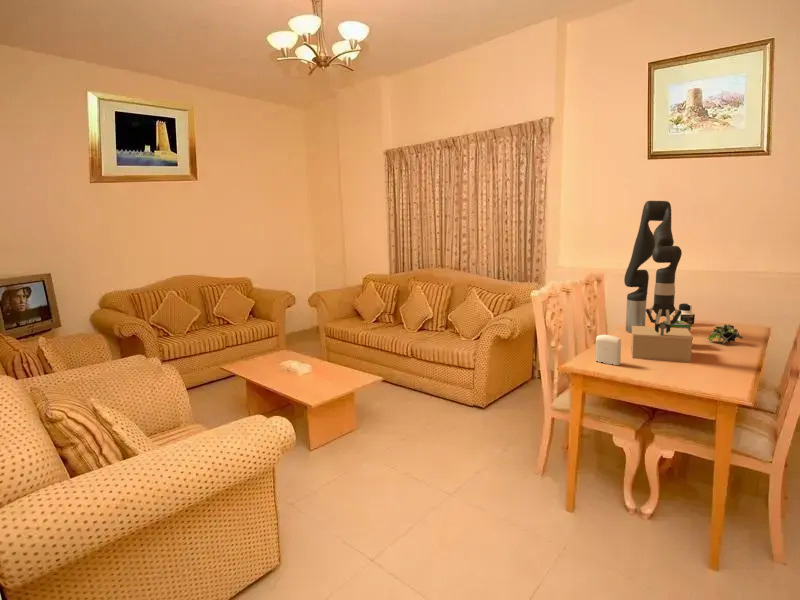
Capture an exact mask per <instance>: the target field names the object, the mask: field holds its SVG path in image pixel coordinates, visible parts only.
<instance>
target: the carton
mask: <svg viewBox="0 0 800 600" xmlns="http://www.w3.org/2000/svg"><path fill="white" fill-rule="evenodd" d="M630 349H631V356H632V358H633V359H639V358H642V359H641V360H655V361H667V362H678V363H679V362H680V363H691V362H692V352H693V351H692V349H693V339H676V338H659V337H642V336H633V332H631V347H630Z"/></svg>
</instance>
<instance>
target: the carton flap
mask: <svg viewBox="0 0 800 600" xmlns="http://www.w3.org/2000/svg"><path fill="white" fill-rule="evenodd" d="M666 327H667V325H666V323H664V322H662V321H661V322H659V333H657V332H656V331H655V326H646V325H645V326H632V332H633V336H642V337H659V338H676V339H692V340H693V339H694V336H693V335H692V332H691V331H690V332H689V330H688V329H687V328H670V332H668V333H666ZM632 332H631V333H632Z"/></svg>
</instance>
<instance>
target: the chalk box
mask: <svg viewBox="0 0 800 600" xmlns="http://www.w3.org/2000/svg"><path fill="white" fill-rule="evenodd" d="M674 316H675V314H672V319H673V318H674ZM662 321H663V322H664V323H666V324H667V320H662ZM670 328H687V329H688V330H689V332H690V333H691V324H689V323H687V322H684V321H678V320H677V321H676V323H675V324H674V323H673V324H671V326H670Z"/></svg>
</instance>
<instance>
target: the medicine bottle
mask: <svg viewBox="0 0 800 600" xmlns="http://www.w3.org/2000/svg"><path fill="white" fill-rule="evenodd" d="M692 309H693V305H692V304H690V303H679V304H678V310H681V312H682V313H681V315H680V316H679V318H678V321H684V322H687V323H689V324H691V327H693V328H694V327H695V319H696V317H695V316H696V314H695V313H694V312H692V311H693V310H692Z"/></svg>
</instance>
